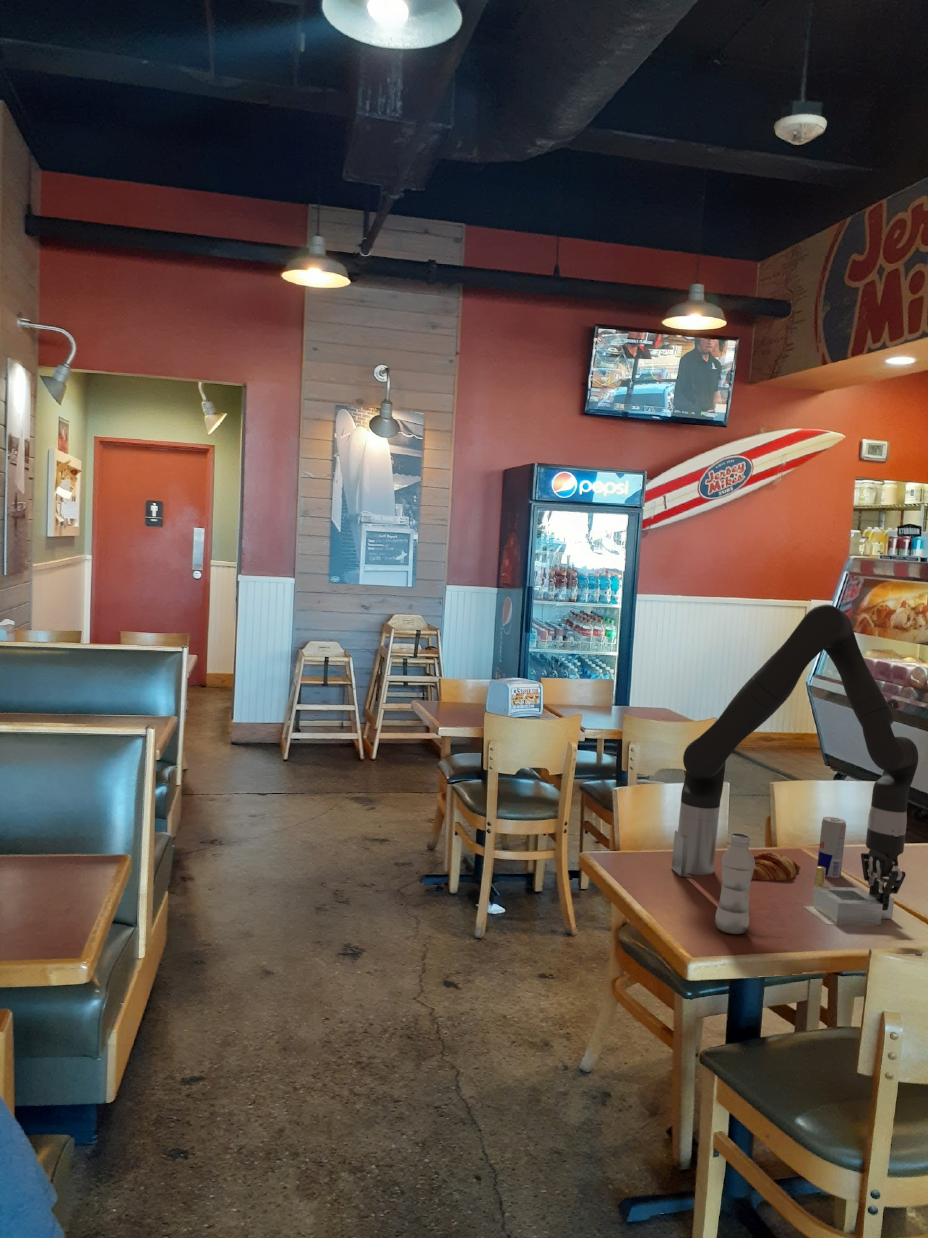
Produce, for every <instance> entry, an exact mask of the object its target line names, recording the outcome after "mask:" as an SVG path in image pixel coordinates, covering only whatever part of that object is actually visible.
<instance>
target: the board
mask: <svg viewBox="0 0 928 1238" xmlns="http://www.w3.org/2000/svg"><path fill="white" fill-rule="evenodd" d="M802 907H803V908H804V909H806V911H808V912H809V913H811V914H812V915H813V916H814V917H816V918H817V919H819V921H821V922H823V923H824V924H825V925H835V926H836V925H838V926H840V925H842V926H854V925H853V924H836V923H834V922H833V921H832V920H830V919H829V918H828V917H826V916H825V915H824V914H822V913H821V912H820V911H818V910H817V909H816V908H814V907H813V905H811V906H810V905H809V906H807V905H806V906H805V905H803V906H802ZM864 926H867V927H868V926H869V927H870V926H872V927H880V925H864Z"/></svg>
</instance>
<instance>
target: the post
mask: <svg viewBox="0 0 928 1238" xmlns="http://www.w3.org/2000/svg"><path fill="white" fill-rule="evenodd" d="M825 871H826V868H825V867H822V866H817V865H816V866H815V873H814V874H815V875H814V886H813V889H814V888H815V886H816V887H825V879H826V876H825ZM813 899H814V892H813V895H812V900H813Z"/></svg>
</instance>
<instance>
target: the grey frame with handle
mask: <svg viewBox="0 0 928 1238" xmlns="http://www.w3.org/2000/svg"><path fill="white" fill-rule="evenodd" d="M813 893H814V899H813V898H812V906H813V907H814V908H816V909H817V910H818V911H820V912H821V913H822V914H824V915H825V916H826V917H828V918H829V919H830V920H832V921H833V922H834V923H836V924H853V925H852V926H865V925H879V926H881V925H882V919H883V920H884V919H887V920H888V919H892V920H893V915H894V913H893V912H894V906H895V905H894V904H895V898H894V897H892V895H890V898H889V907H888V910H882V907H883V904H881V903H880V902H878V901H877V900H878V894H869V893H866V892H864V891H863V890H862V889H860V888H858V887H847V886H846V887H844V886H842V887H841V886H824V887H816V886H815V888H814V887H813Z"/></svg>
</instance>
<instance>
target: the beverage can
mask: <svg viewBox="0 0 928 1238" xmlns="http://www.w3.org/2000/svg"><path fill="white" fill-rule="evenodd" d="M846 823H847V821H846V820H844V819H843V818H839V817H834V816H823V817H822V820H821V826H820V827H821V828H820V835H819V836H820V838H819V847H818V855H817V856H818V858H817V865H816V866H822V867H825V868H826V871H825V877H827V878H835V879H837V878H840V877H842V868H843V859H844V857H843V856H844V849H845V841H846V840H845V839H846V831H847V830H846V829H847V824H846Z"/></svg>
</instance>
